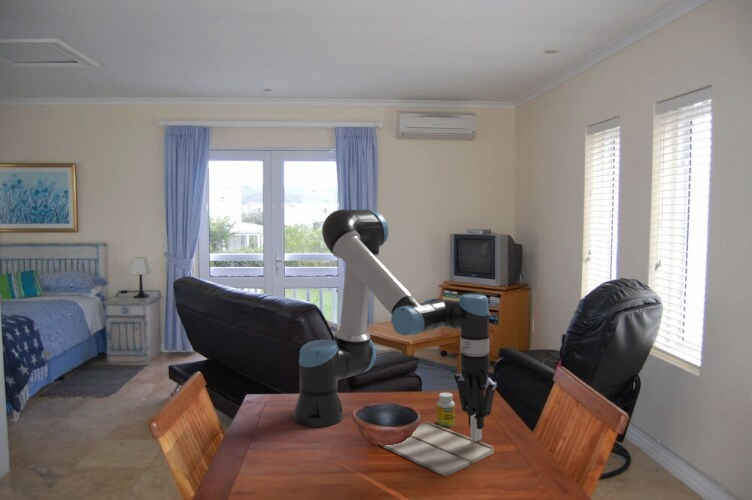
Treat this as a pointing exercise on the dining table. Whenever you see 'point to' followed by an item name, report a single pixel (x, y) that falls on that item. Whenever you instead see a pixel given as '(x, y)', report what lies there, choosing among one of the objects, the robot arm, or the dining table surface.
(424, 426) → the plank
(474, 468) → the dining table surface
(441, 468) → the laid board
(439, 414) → the supplement bottle
